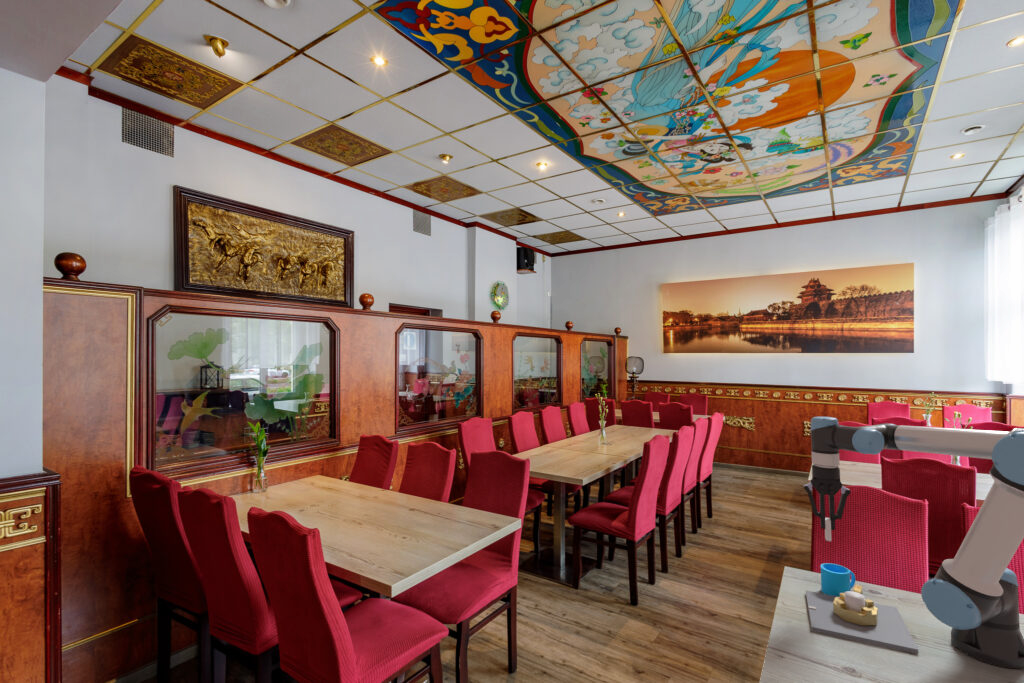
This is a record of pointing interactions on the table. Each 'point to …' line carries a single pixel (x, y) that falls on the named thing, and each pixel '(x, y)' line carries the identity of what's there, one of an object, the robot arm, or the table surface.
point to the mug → (836, 579)
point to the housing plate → (883, 634)
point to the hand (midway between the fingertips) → (828, 539)
